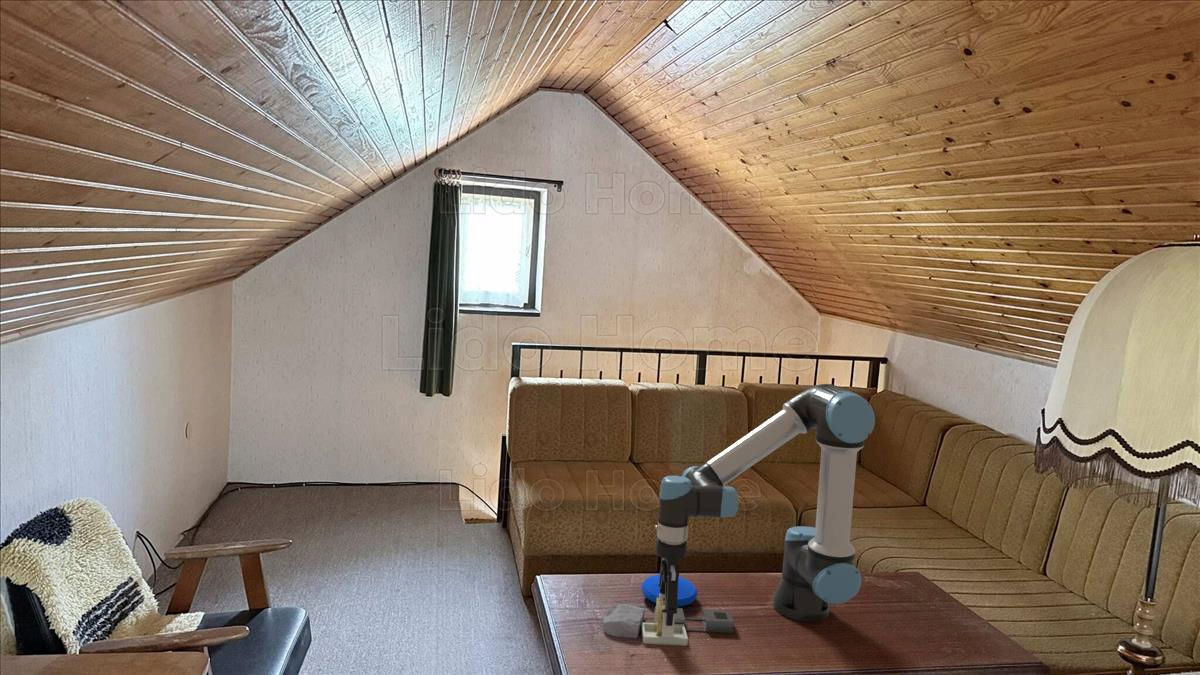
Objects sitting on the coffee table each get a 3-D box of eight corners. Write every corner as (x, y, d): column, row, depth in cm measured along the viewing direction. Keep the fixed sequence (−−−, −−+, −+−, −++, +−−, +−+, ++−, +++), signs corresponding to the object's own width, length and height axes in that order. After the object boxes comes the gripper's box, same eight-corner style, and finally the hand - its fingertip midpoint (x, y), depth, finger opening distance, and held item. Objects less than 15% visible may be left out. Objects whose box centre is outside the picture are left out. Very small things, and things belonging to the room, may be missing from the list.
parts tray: (683, 631, 186) (683, 624, 185) (687, 645, 179) (687, 638, 178) (640, 629, 185) (641, 622, 185) (643, 643, 178) (643, 636, 178)
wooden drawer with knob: (670, 631, 184) (673, 598, 183) (672, 640, 180) (675, 606, 179) (654, 631, 184) (656, 597, 183) (655, 639, 180) (658, 605, 179)
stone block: (601, 641, 182) (640, 640, 180) (599, 623, 181) (638, 621, 179) (610, 620, 193) (646, 619, 191) (607, 603, 193) (644, 601, 191)
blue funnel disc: (634, 585, 209) (636, 562, 208) (686, 584, 212) (689, 562, 211) (648, 614, 193) (650, 589, 192) (704, 612, 196) (706, 588, 195)
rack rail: (728, 621, 192) (729, 610, 192) (733, 633, 186) (734, 621, 186) (653, 617, 191) (654, 606, 191) (656, 629, 186) (657, 618, 185)
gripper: (652, 524, 189) (646, 607, 191) (661, 555, 168) (655, 648, 170) (680, 525, 189) (674, 608, 191) (693, 556, 168) (686, 650, 170)
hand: (665, 627), depth 180 cm, fingers open, 8 cm apart
